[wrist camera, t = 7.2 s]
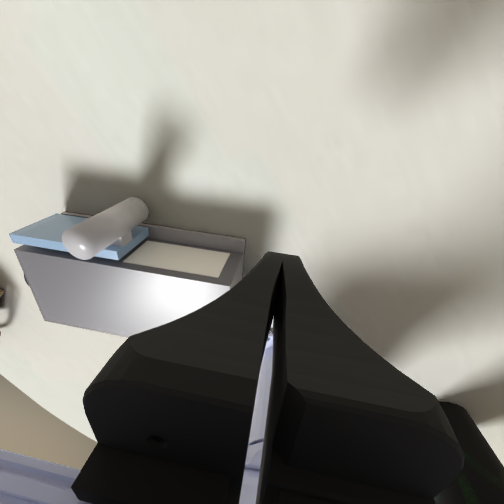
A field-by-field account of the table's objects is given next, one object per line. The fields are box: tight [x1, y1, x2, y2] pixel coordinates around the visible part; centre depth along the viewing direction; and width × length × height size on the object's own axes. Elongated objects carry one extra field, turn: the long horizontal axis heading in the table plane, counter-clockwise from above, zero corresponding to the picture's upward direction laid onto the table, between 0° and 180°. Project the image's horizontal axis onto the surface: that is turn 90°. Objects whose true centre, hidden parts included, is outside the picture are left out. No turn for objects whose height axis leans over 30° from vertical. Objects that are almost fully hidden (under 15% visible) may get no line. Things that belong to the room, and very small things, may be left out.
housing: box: [14, 212, 245, 338], centre depth 21 cm, size 17×8×5 cm, turn 85°
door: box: [9, 197, 149, 260], centre depth 18 cm, size 9×3×6 cm, turn 85°
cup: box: [434, 402, 504, 504], centre depth 22 cm, size 8×8×12 cm
